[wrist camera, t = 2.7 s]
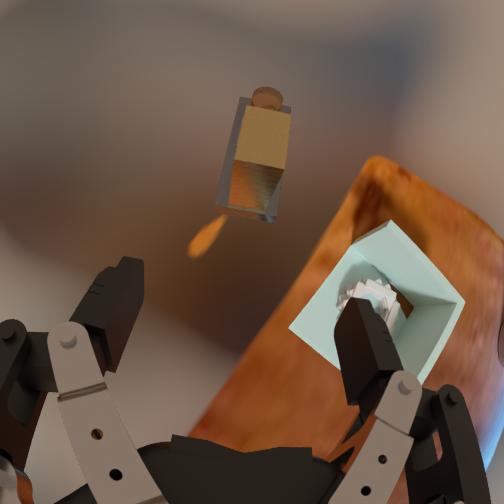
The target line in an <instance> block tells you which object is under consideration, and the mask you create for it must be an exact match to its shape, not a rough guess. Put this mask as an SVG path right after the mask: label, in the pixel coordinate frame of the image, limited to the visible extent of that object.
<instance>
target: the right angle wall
mask: <svg viewBox="0 0 504 504" xmlns="http://www.w3.org/2000/svg"><path fill="white" fill-rule="evenodd" d="M386 279H387V280H388V281H389V282H390V283H391V284H392V285H393V286H394V287H395V288H396V289H397V290H398V291H399V292H400V293H401V294H402V295H403V296H404V297H405V298H406V299H407V300H408V301H409V302H410V303H411V304H412V305H413V306H414V309H413V310H412V312H411V314H410V315H409V317H408V319H406V317H405V315H404V313H403V311H402V309H401V307H400V303H398V301H397V299H396V294H397V293H396V292H394V291H392V289H391V287H390V284H388V282H387V280H386ZM351 297H356V298H363V299H369V300H370V301H371V304H372V306H373V308H374V311H375V313H378V314H379V315H380V316H381V317H382V319H383V320H384V321H385V322H386V324H387V327H388V329H389V332H390V335H391V337H392V339H393V343H394V344H395V347H396V350H397V352H398V355H399V357H400V360H401V363H402V366H403V368H404V371H407V372H410V373H411V374H413V375H414V376H415V377H416V378H417V379H418V380H419V382H420V384H421V385H422V384H423V382H424V381H425V379H426V377H427V376H428V374H429V372H430V371H431V369H432V367H433V366H434V364H435V362H436V360H437V359H438V357H439V355H440V353H441V351H442V349H443V348H444V346H445V344H446V342H447V340H448V338H449V336H450V334H451V332H452V330H453V328H454V326H455V324H456V322H457V320H458V318H459V316H460V313H461V311H462V309H463V307H464V304H465V301H464V300H463V298H462V297H461V296H460V295H459V293H458V292H457V291H456V290H455V288H454V287H453V286H452V285H451V284H450V283H449V281H448V280H447V279H446V278H445V277H444V275H443V274H442V273H441V272H440V271H439V270H438V269H437V267H436V266H435V265H434V264H433V263H432V262H431V261H430V260H429V259H428V257H427V256H426V255H425V254H424V253H423V252H422V251H421V250H420V249H419V248H418V247H417V246H416V244H415V243H414V242H413V241H412V240H411V239H410V238H409V237H408V236H407V235H406V234H405V233H404V232H403V231H402V230H401V229H400V228H399V227H398V226H397V225H396V224H395V223H394V222H393V221H392V220H389V221H387V222H386V223H384V224H382V225H380V226H379V227H377V228H375V229H373V230H371V231H370V232H368V233H366V234H364V235H363V236H361V237H359V238H357V239H355V241H354V242H353V243H352V245H351V246H350V248H349V249H348V250H347V252H346V253H345V254H344V256H343V257H342V259H341V260H340V261H339V263H338V264H337V265H336V267H335V268H334V270H333V271H332V272H331V274H330V275H329V276H328V278H327V279H326V280H325V282H324V283H323V284H322V285H321V287H320V288H319V289H318V291H317V292H316V293H315V295H314V296H313V297H312V298H311V300H310V301H309V302H308V304H307V305H306V306H305V307H304V309H303V310H302V311H301V312H300V314H299V315H298V316H297V317H296V319H295V320H294V321H293V322H292V324H291V325H290V326H289V327H288V328H289V329H290V330H291V331H293V332H294V333H295V334H296V335H297V336H299V337H300V338H301V339H302V340H303V341H305V342H306V343H307V344H308V345H310V346H311V347H312V348H313V349H314V350H316V351H317V352H318V353H319V354H321V355H322V356H323V357H324V358H326V359H327V360H328V361H329V362H331V363H332V364H333V365H334V366H336V367H337V368H338V369H339V370H341V369H340V364H339V359H338V355H337V350H336V346H335V342H334V328H335V325H336V322H337V321H338V319H339V317H340V315H341V313H342V311H343V309H344V307H345V305H346V304H347V302H348V300H349V299H350V298H351Z"/></svg>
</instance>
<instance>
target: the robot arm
mask: <svg viewBox="0 0 504 504" xmlns="http://www.w3.org/2000/svg"><path fill="white" fill-rule="evenodd" d="M143 300H144V261H143V260H142V259H137V258H132V257H128V256H123V257H122V259H121V260H120V262H119V264H118V265H117V267H116V268H114V267H110V266H109V267H107V268H106V269H104V270H103V271H102V272H100V273H99V274H98V276H97V277H96V278H95V280H94V281H93V284H92V285H91V286H90V288H89V289H88V292H86V294H85V295H84V297H83V299H82V300H81V302H80V304H79V305H78V307H77V308H76V310H75V312H74V313H73V315H72V317H71V318H70V320H69V321H68V322H63V323H60V324H58V325H56V326H55V327H53V328H52V330H51V331H50V332H27V330H26V328H25V326H24V324H23V323H22V322H20V321H18V320H15V319H10V320H5V321H3V322H1V323H0V504H34V502H33V497H32V484H31V481H30V479H29V477H28V476H27V474H26V473H25V472H24V468H25V464H26V460H27V456H28V452H29V449H30V445H31V442H32V438H33V435H34V432H35V429H36V425H37V422H38V419H39V416H40V413H41V410H42V407H43V404H44V402H45V399H46V396H47V393H48V392H58V393H59V397H58V405H59V409H60V412H61V415H62V419H63V422H64V425H65V428H66V431H67V434H68V436H69V439H70V442H71V445H72V447H73V450H74V453H75V455H76V457H77V460H78V463H79V465H80V467H81V469H82V472H83V474H84V476H85V479H86V481H87V484H85V485H84V486H82V487H80V488H79V489H77V490H76V491H74V492H72V493H71V494H69V495H68V496H66V497H64V498H63V499H61V500H59V501H57V502H56V503H54V504H386V503H387V501H388V499H389V497H390V495H391V493H392V491H393V489H394V487H395V485H396V483H397V480H398V478H399V476H400V474H401V472H402V469H403V467H404V466H405V473H406V480H407V488H408V496H409V504H491V500H490V493H489V488H488V483H487V478H486V473H485V468H484V464H483V460H482V456H481V452H480V448H479V445H478V441H477V438H476V434H475V431H474V427H473V424H472V421H471V418H470V415H469V412H468V409H467V406H466V403H465V400H464V397H463V395H462V393H461V392H460V391H459V390H458V389H457V388H456V387H455V386H453V385H450V384H446V385H443V386H442V387H441V388H440V389H439V390H438V391H437V392H436V391H432V390H429V389H425V388H422V386H421V384H420V382H419V380H418V379H417V378H416V377H415V376H414V375H413V374H411V373H410V372H407V371H404V368H403V366H402V363H401V360H400V357H399V355H398V352H397V350H396V347H395V344H394V343H393V339H392V337H391V335H390V332H389V329H388V327H387V324H386V322H385V321H384V320H383V319H382V317H381V316H380V315H379V314H378V313H375V311H374V308H373V306H372V304H371V301H370V300H369V299H363V298H356V297H351V298H350V299H349V300H348V302H347V304H346V305H345V307H344V309H343V311H342V313H341V315H340V317H339V319H338V321H337V322H336V325H335V328H334V342H335V346H336V350H337V355H338V359H339V364H340V369H341V373H342V378H343V383H344V388H345V393H346V398H347V403H348V405H359V409H360V410H359V411H358V412H357V413H356V415H355V417H354V418H353V420H352V422H351V423H350V425H349V427H348V428H347V430H346V432H345V433H344V435H343V437H342V438H341V440H340V441H339V443H338V444H337V446H336V447H335V449H334V450H333V451H332V452H331V453H330V454H329V455H328V456H327V458H326V459H325V460H324V459H322V458H319V457H316V456H312V447H277V448H272V449H266V450H260V451H254V452H248V453H243V452H239V451H236V450H233V449H230V448H227V447H224V446H221V445H219V444H216V443H213V442H211V441H208V440H202V439H196V438H190V437H184V436H178V435H172V439H171V442H160V443H154V444H150V445H146V446H144V447H141V448H139V449H137V450H136V448H135V446H134V444H133V442H132V440H131V439H130V436H129V435H128V432H127V430H126V428H125V426H124V424H123V422H122V420H121V418H120V416H119V413H118V411H117V409H116V407H115V404H114V402H113V400H112V398H111V395H110V393H109V390H108V388H107V386H106V384H105V382H104V379H103V377H104V375H105V372H106V370H107V371H110V372H113V373H115V372H116V369H117V367H118V364H119V362H120V359H121V356H122V354H123V351H124V349H125V346H126V343H127V341H128V338H129V336H130V333H131V331H132V328H133V326H134V323H135V321H136V319H137V316H138V314H139V312H140V309H141V307H142V304H143ZM498 352H499V358H500V362H501V364H502V365H503V366H504V322H503V325H502V327H501V331H500V336H499V345H498ZM437 431H438V433H439V437H440V441H441V445H442V450H443V454H442V457H441V459H440V460H439V461H438V459H437V454H436V449H435V445H434V441H433V436H432V435H433V434H434V433H436V432H437Z"/></svg>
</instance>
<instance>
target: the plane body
mask: <svg viewBox="0 0 504 504" xmlns="http://www.w3.org/2000/svg"><path fill="white" fill-rule="evenodd" d="M282 102H283V97H282V95H281V94H280V92H278V91H277V90H275V89H273V88H270V87H261V88H258V89H256V90H255V91H254V93H253V96H252V99H250V98H243V97H240V100H239V105H238V109H237V112H236V116H235V120H234V124H233V128H232V133H231V136H230V141H229V144H228V149H227V153H226V157H225V161H224V166H223V170H222V175H221V179H220V183H219V188H218V193H217V197H216V202H215V212H218V213H223V214H229V215H234V216H239V217H245V218H250V219H256V220H261V221H266V222H271V223H273V221H274V220H275V218H276V217H277V210H278V202H279V196H280V189H281V181H282V176H281V179H280V181H279V183H278V185H277V187H276V189H275V191H274V193H273V195H272V197H271V199H270V201H269V203H268V205H267V207H266V210H265V212H260V211H255V210H250V209H245V208H239V207H234V206H228V202H229V194H230V187H231V179H232V171H233V164H234V158H235V153H236V149H237V144H238V140H239V135H240V131H241V126H242V122H243V118H244V113H245V109H246V105H248V106H254V107H259V108H264V109H269V110H273V111H278V112H283V113H287V114H290V112H291V107H288V106H284V105H282Z"/></svg>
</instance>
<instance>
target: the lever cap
mask: <svg viewBox="0 0 504 504" xmlns="http://www.w3.org/2000/svg"><path fill="white" fill-rule="evenodd" d="M291 116H292V115H291V114H287V113H283V112H278V111H273V110H269V109H264V108H259V107H254V106H248V105H246V109H245V113H244V118H243V122H242V126H241V131H240V135H239V140H238V144H237V149H236V153H235V158H234V164H233V171H232V179H231V187H230V194H229V202H228V206H234V207H239V208H245V209H250V210H255V211H260V212H265V210H266V207H267V205H268V203H269V201H270V199H271V197H272V195H273V193H274V191H275V189H276V187H277V185H278V183H279V181H280V179H281V176H282V174H283V172H284V170H285V165H286V157H287V149H288V141H289V133H290V124H291Z"/></svg>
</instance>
